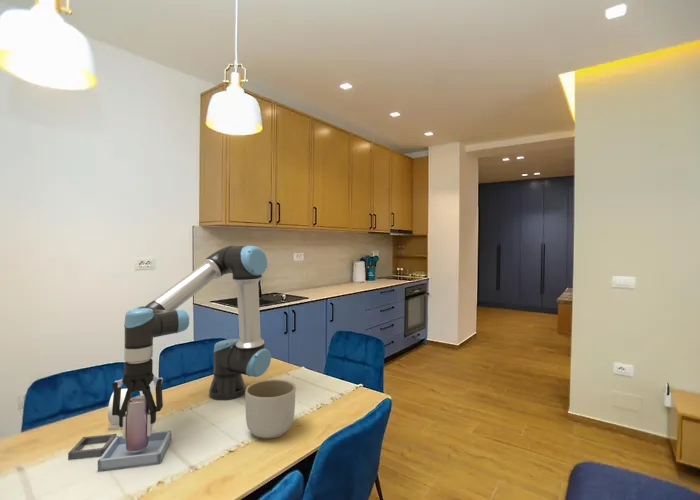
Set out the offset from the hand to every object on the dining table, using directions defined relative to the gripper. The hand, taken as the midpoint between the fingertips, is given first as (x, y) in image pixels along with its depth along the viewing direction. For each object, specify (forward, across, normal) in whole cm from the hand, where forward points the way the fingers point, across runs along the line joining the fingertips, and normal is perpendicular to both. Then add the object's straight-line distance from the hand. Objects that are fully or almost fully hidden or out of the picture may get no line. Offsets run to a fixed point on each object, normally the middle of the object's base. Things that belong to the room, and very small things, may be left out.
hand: (137, 435), depth 110 cm
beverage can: (+4, 0, 0) cm, 4 cm away
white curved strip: (+6, +12, -21) cm, 25 cm away
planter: (+6, -40, -5) cm, 41 cm away
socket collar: (+6, +14, -6) cm, 16 cm away
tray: (+6, 0, 0) cm, 6 cm away
